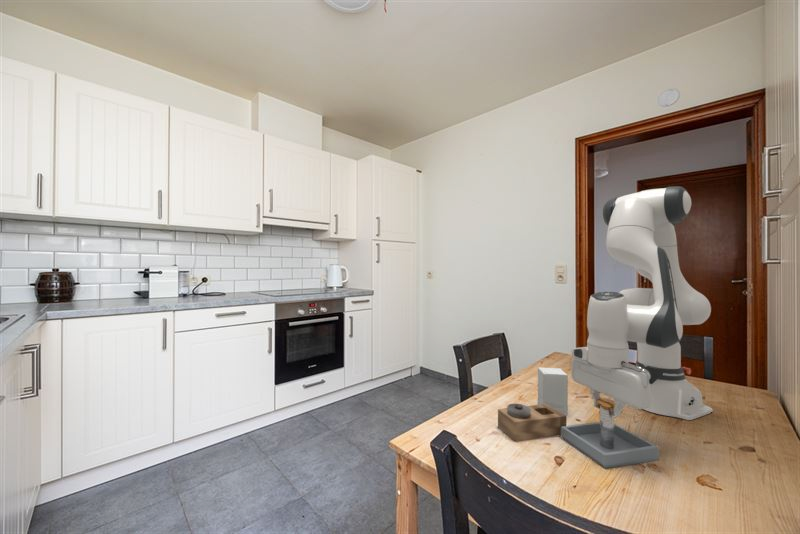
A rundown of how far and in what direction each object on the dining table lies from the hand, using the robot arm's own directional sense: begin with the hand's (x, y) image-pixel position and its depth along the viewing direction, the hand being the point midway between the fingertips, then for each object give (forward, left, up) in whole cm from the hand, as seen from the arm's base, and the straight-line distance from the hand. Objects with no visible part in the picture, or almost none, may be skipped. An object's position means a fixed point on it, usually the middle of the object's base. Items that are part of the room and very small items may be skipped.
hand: (607, 411), depth 80 cm
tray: (0, 0, -9) cm, 9 cm away
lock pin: (0, 0, -8) cm, 8 cm away
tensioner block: (+13, -12, -9) cm, 20 cm away
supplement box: (-2, -22, -9) cm, 24 cm away
